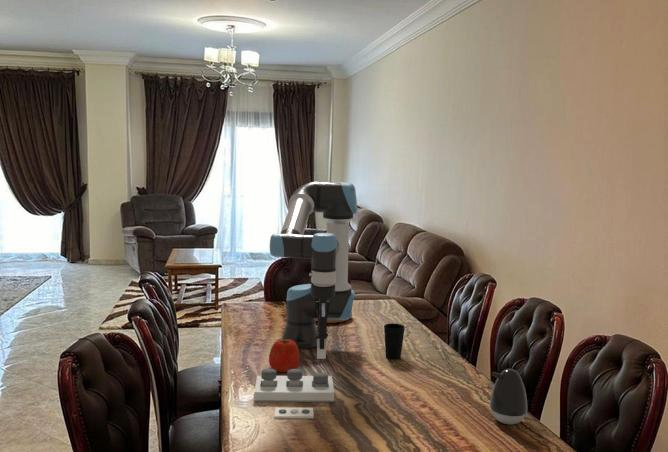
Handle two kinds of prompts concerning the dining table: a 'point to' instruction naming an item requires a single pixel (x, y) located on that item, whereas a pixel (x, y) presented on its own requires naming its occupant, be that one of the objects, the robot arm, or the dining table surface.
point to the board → (293, 391)
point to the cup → (393, 340)
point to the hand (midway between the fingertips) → (321, 357)
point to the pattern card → (294, 413)
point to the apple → (284, 355)
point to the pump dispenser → (508, 397)
